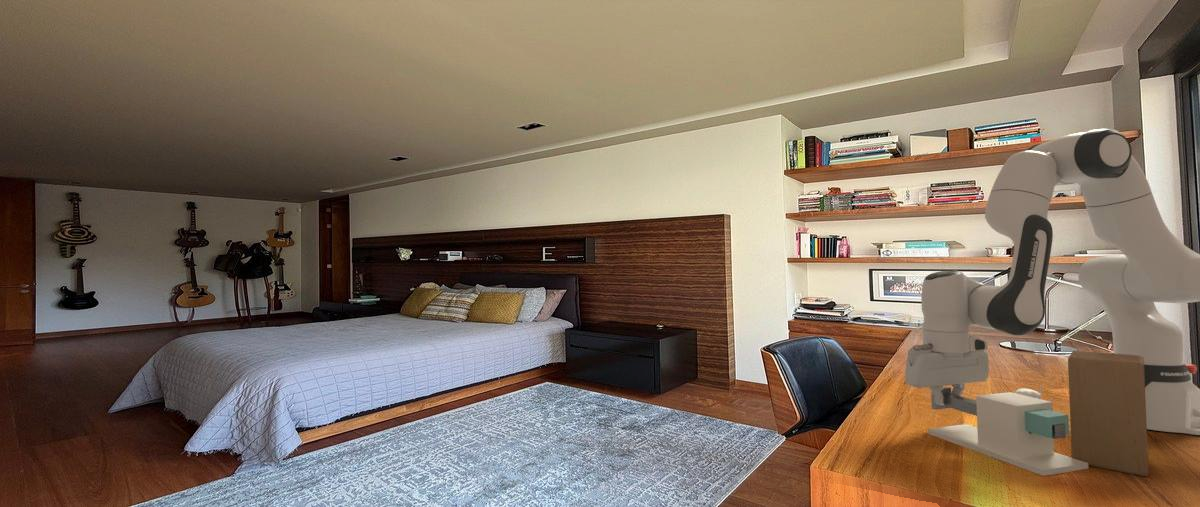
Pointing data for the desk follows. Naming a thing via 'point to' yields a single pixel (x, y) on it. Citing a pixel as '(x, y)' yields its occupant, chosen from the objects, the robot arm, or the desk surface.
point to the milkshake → (1029, 392)
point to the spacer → (1044, 422)
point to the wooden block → (1108, 411)
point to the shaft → (971, 408)
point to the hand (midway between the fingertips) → (947, 403)
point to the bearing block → (1010, 435)
